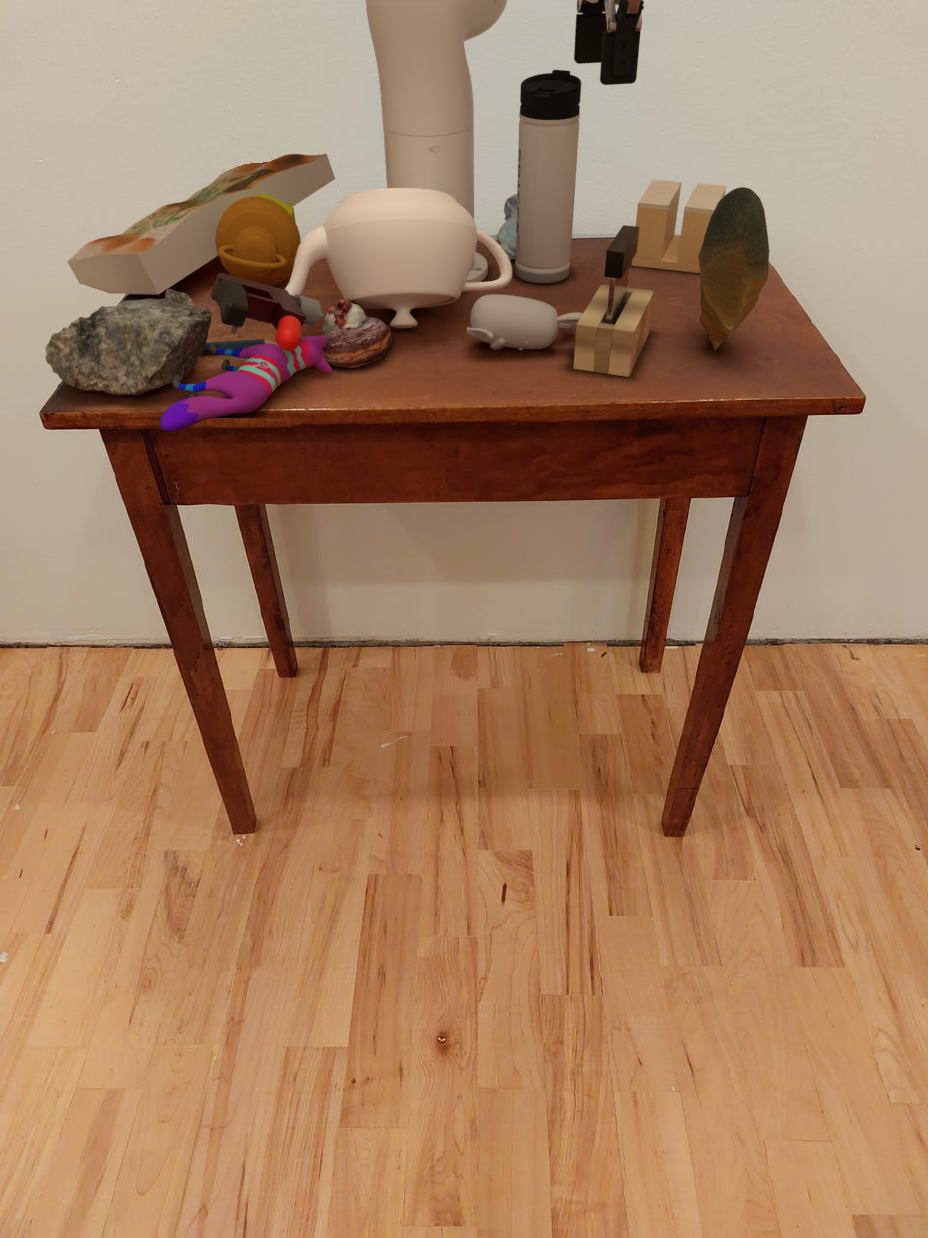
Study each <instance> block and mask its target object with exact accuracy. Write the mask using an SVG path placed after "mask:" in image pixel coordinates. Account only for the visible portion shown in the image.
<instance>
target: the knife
mask: <svg viewBox="0 0 928 1238" xmlns="http://www.w3.org/2000/svg"><path fill="white" fill-rule="evenodd" d="M638 237H639V227H636V225H625V224H623V225H622V226H621V228H620V229H619V230H618V233H617V234H616V235H615V237H614V238H613V240H612V242H610V245H609V246H608V247H607V249H606V252H605V261H604V262H605V263H604V274H603V276H604V278H609V284H608V285H609V295H608V305H607V316H606V324H614V325H615V324H616V322H617V320H618V318H619V316H620V314H621V313H622V311H623V309H624V307H625V304H626V295H627V288H628V283H629V276H630V265H631V264H632V260H633V258H634V256H635V254H636V253H637V246H638Z"/></svg>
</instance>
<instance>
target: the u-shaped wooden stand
mask: <svg viewBox="0 0 928 1238" xmlns="http://www.w3.org/2000/svg"><path fill="white" fill-rule="evenodd" d="M681 189H682V181H675V180H664V179H652V180H651V182H650V184H648V187H647V188H646V190H645V192H644V193H643V194H642V196H641V197H640V199H639V200H638V202H637V209H636V220H635V226H636V227H639V237H638V246H637V253H636V254H635V256H634V258H633V260H632V261H631V263H630V265H631V266H633V267H639V268H649V269H656V270H657V269H658V270H665V271H666V270H667V271H675V272H676V271H677V272H685V273H692V274H693V273H694V274H700V265H699V258H698V255H699V252H700V250H701V247H702V244H703V241H704V236H705V233H706V230H707V227H708V224H709V221H710V218H711V216H712V214H713V212H714V210H715V208H716V206H717V204H718V202H719V201H720V200H721V199H722V198H723V197H724V196H725V195H726V189H727V185H721V184H709V183H699V182H697V183H696V185H695V187H694V188H693V190H692V192H691V194H690V196H689V198H688V200H687V201H686V203H685V205H684V208H683V209H684V210H683V217H682V222H681V223H682V224H681V231H680V235H679V234H678V235H677V234H675V233H676V225H677V219H678V211H679V203H680V197H681Z"/></svg>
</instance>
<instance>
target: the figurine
mask: <svg viewBox="0 0 928 1238" xmlns="http://www.w3.org/2000/svg"><path fill="white" fill-rule="evenodd" d="M503 214H504V218H503V220H505V222H504V223H503V224H502V225H501V226H500V228H499V230H498V232H497V234H496V241H499V242H498V243H499V245H500V246H501V247H502V248H503V249H504V251H505V252H506V254H507V256H508V258H509V260H510V261H511V260H516V223H517V193H515V194H512V195H511V196H509V197H508V198H507V199H506V200H505V201H504V207H503Z"/></svg>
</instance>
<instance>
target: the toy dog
mask: <svg viewBox="0 0 928 1238" xmlns="http://www.w3.org/2000/svg"><path fill="white" fill-rule="evenodd" d="M327 341H328V337H324V336H319V337H317V336H312V335H306V336H304V337H302V338H300V343H299V345H298V347H297V348H296V349H294V350H292V351H285V350H283V349H281V348H280V347H279V346H278V344H257V345H253V346H249V347H246V348H237V349H218V344H217V343H215V342H216V341H211V342H212V344H211V346H210V351H211V353H210V354H214V355H224V356H229V357H233V358H239V359H245V361H244V362H243V363H242V364H241V365H240V366H235V365H231V362H230V360H229V359H226V358H224V360H222V363H221V365H220V366H221V369H222V370H224V371H225V372H223V373H220V374H217V375H215V376H212V377H211V378H208V379H206V380H204V381H201V382H198V383H182V382H183V379H182V378H181V377H180V376H178V375H177V376H175V377H174V379H173V383H172V387H173V388H174V389H176V390H179V391H183V392H184V391H185V392H190V394H189V396H188V397H187V398H183V399H181V400H178V401H176V402H175V403H173V404H171V405H170V406H169V407H167V408H166V410H165V411H164V412H163V413H162V415H161V417H160V420H159V425H160V428H161V430H163V431H165V432H177V431H180V430H184V429H187V428H189V427H191V426H194V425H196V424H198V423H201V422H203V421H207V420H210V419H213V418H220V417H224V416H229V415H233V414H234V415H235V414H241V415H243V414H249V413H253V412H254V411H256V410H257V409H258V408H260V407H261V406H262V405H263V404H264V403H265V402H266V401H267V400H268V398H269V396H270V395H271V394H272V393H274V392H275V390H277V388H278V387H279V386H280V385H281V384H282V383H284V382H286V381H288V380H289V379H290V378H291V377H292V376H293V375H294V374H295V373H297V372H299V371H301V370H303V369H306V368H309V367H311V366H313V367H316V368H317V369H318V370H321V371H322V372H324V373H325V374H326V373H327V374H333V369H332V367H331V366H330V364H329V363H327V361H326V360H325V358H324V353H323V347H324V346H325V345H326V343H327ZM201 392H216V393H220V394H222V395H223V396H221V397H218V396H212V395H198V393H201Z"/></svg>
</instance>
